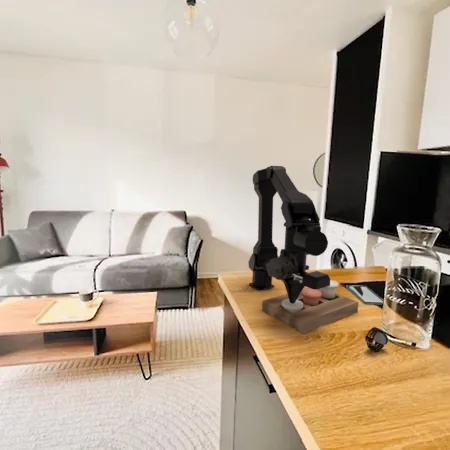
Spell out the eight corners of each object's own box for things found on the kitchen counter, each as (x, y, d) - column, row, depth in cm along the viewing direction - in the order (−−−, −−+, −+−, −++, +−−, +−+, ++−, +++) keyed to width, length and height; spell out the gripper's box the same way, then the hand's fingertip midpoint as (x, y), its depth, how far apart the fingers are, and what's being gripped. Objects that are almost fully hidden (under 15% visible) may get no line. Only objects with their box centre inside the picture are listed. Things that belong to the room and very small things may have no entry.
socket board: (261, 310, 84) (262, 300, 84) (315, 294, 97) (315, 285, 97) (303, 333, 72) (303, 322, 72) (357, 311, 85) (358, 301, 85)
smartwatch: (389, 354, 65) (392, 332, 64) (368, 355, 64) (370, 333, 63) (377, 343, 69) (379, 323, 68) (356, 345, 68) (358, 324, 67)
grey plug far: (313, 294, 89) (314, 281, 89) (325, 290, 92) (326, 278, 92) (329, 300, 85) (330, 287, 84) (341, 296, 88) (342, 283, 87)
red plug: (296, 304, 85) (296, 290, 85) (309, 299, 88) (309, 287, 88) (311, 311, 81) (312, 297, 80) (324, 306, 84) (325, 293, 83)
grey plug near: (276, 315, 81) (277, 301, 81) (291, 310, 84) (291, 297, 84) (292, 323, 77) (292, 309, 76) (306, 318, 80) (307, 304, 79)
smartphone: (364, 303, 90) (345, 285, 105) (364, 306, 91) (344, 287, 105) (388, 304, 90) (366, 285, 105) (388, 307, 91) (365, 288, 105)
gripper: (249, 242, 81) (247, 297, 83) (302, 258, 66) (298, 324, 68) (278, 238, 87) (276, 289, 89) (334, 252, 72) (329, 313, 74)
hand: (292, 302), depth 80 cm, fingers closed, pressing on grey plug near
